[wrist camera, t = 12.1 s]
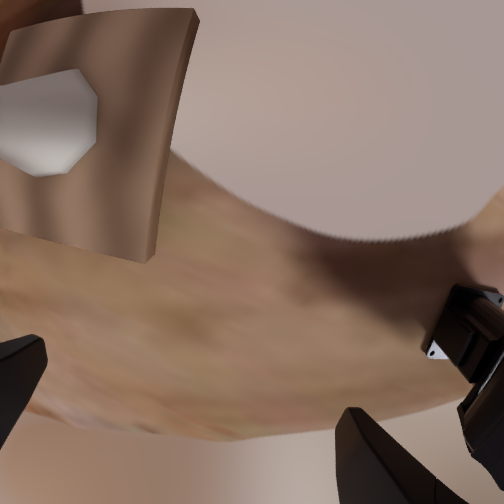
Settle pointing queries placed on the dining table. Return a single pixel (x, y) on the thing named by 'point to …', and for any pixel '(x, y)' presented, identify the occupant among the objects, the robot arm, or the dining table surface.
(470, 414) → the robot arm
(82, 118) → the flask
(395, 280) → the dining table surface
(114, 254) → the walnut board
